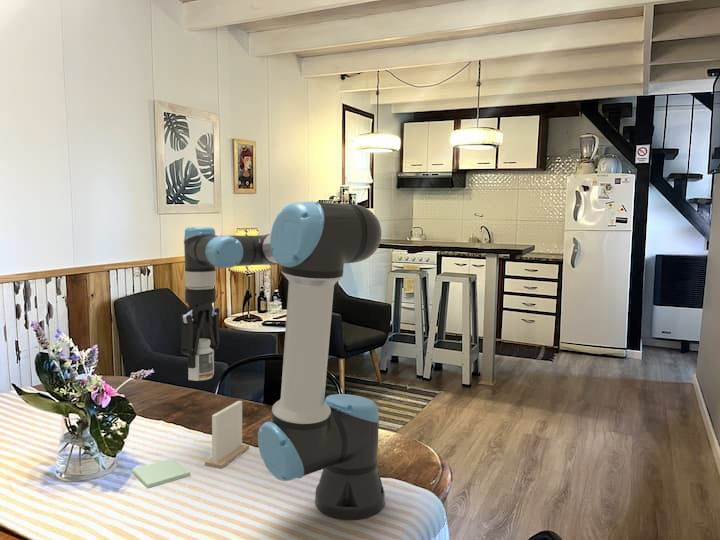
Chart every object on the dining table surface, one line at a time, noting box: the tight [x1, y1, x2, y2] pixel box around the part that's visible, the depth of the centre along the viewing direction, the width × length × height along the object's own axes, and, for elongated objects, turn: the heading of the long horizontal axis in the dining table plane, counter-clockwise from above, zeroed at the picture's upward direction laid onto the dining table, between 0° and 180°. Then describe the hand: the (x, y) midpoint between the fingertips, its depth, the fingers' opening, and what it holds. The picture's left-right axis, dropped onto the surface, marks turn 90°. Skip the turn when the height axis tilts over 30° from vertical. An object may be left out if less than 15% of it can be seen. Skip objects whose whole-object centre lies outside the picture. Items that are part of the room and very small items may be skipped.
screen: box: [203, 400, 250, 469], centre depth 142 cm, size 13×5×13 cm, turn 161°
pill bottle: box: [196, 337, 214, 381], centre depth 143 cm, size 6×6×10 cm
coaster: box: [131, 457, 191, 489], centre depth 133 cm, size 10×10×1 cm
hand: (201, 376), depth 144 cm, fingers closed on pill bottle, 6 cm apart
